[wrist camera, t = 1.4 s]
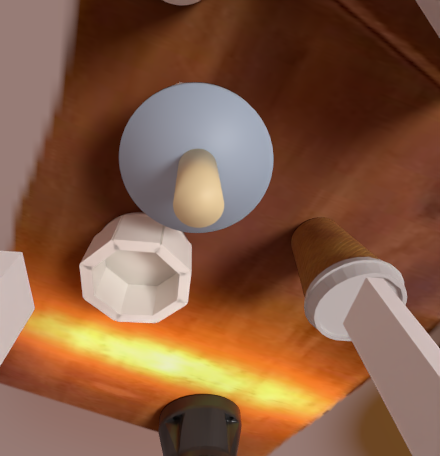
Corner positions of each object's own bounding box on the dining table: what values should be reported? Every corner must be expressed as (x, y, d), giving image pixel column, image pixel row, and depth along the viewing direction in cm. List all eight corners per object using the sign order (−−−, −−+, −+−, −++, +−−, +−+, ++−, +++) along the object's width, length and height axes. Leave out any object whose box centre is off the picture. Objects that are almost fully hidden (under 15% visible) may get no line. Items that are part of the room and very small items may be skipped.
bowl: (186, 289, 41) (184, 324, 36) (99, 284, 39) (85, 320, 34) (194, 216, 35) (194, 245, 30) (94, 207, 34) (76, 236, 29)
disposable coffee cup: (266, 260, 39) (291, 335, 29) (298, 196, 35) (342, 258, 25) (329, 275, 41) (374, 350, 31) (367, 216, 37) (434, 281, 27)
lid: (254, 232, 30) (272, 288, 23) (122, 221, 28) (99, 277, 21) (287, 95, 24) (325, 114, 17) (119, 69, 22) (85, 79, 15)
